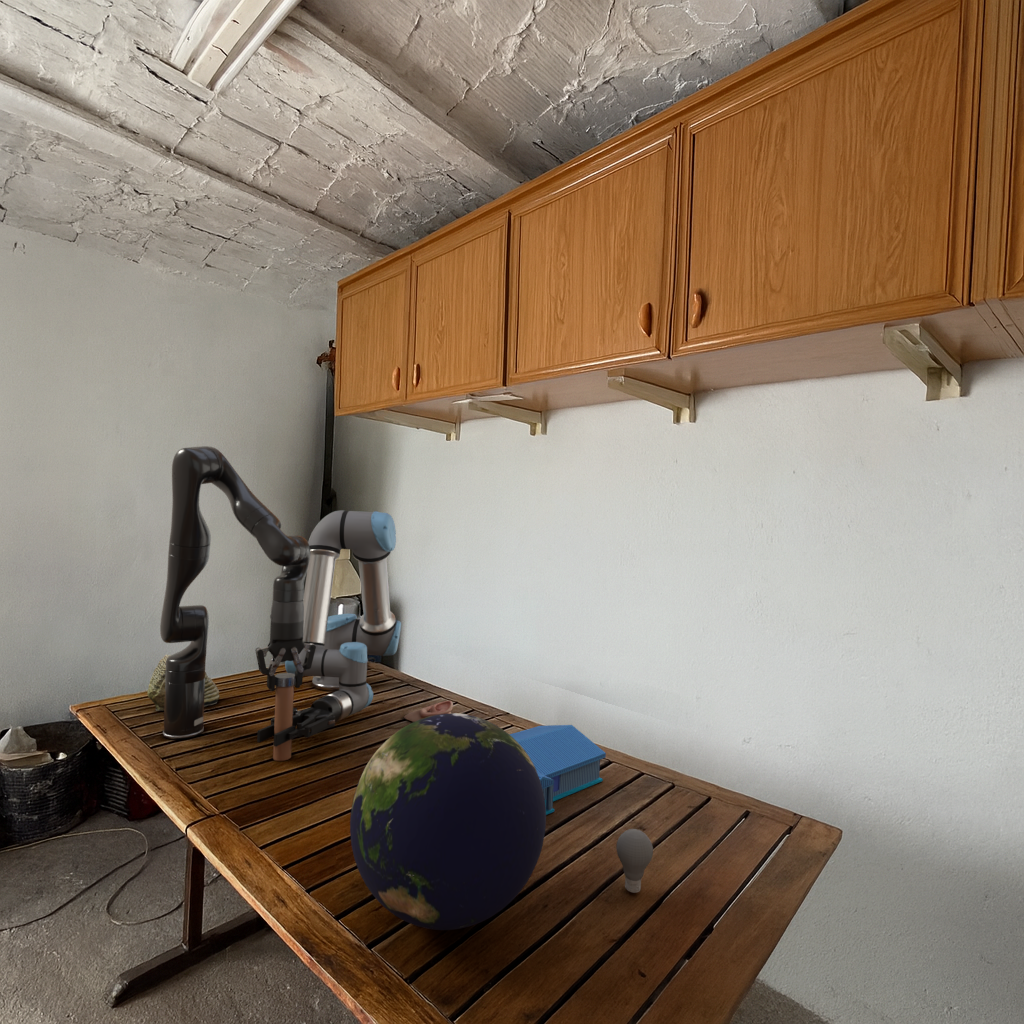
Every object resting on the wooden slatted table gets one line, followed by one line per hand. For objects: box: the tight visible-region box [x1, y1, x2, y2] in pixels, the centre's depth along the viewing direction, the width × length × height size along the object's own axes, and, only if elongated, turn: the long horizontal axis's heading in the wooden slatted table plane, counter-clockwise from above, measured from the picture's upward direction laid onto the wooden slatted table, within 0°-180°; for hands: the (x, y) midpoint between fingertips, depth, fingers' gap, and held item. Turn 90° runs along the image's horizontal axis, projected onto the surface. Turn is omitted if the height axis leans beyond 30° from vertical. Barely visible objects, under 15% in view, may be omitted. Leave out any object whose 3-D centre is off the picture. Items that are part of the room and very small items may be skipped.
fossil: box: [147, 654, 221, 712], centre depth 185 cm, size 9×18×15 cm, turn 132°
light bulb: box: [615, 828, 654, 894], centre depth 106 cm, size 6×6×10 cm
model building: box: [509, 724, 607, 816], centre depth 141 cm, size 39×24×10 cm, turn 132°
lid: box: [274, 672, 296, 687], centre depth 152 cm, size 5×5×2 cm
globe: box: [349, 712, 547, 931], centre depth 98 cm, size 30×30×30 cm
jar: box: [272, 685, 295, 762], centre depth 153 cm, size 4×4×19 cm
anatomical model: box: [403, 700, 454, 723], centre depth 184 cm, size 13×4×12 cm
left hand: (284, 688), depth 152 cm, fingers open, 5 cm apart
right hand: (266, 738), depth 148 cm, fingers closed on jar, 4 cm apart
